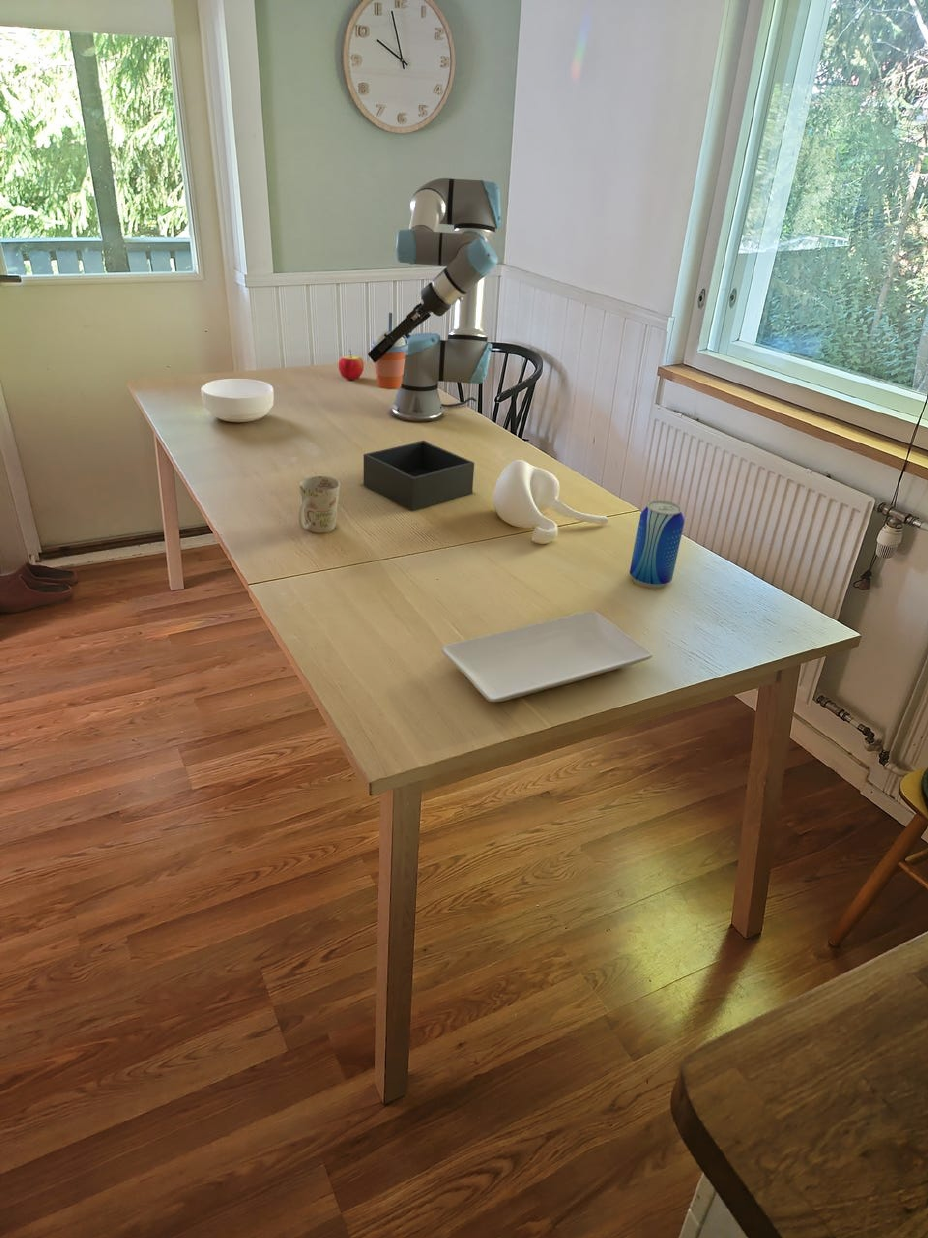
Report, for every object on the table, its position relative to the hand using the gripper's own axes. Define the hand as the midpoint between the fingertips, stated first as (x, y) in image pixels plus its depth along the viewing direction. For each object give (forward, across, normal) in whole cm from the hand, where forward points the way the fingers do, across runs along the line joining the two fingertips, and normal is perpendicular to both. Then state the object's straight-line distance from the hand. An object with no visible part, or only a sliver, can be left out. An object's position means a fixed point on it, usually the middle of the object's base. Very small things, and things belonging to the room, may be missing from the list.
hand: (377, 353), depth 212 cm
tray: (-23, -91, -59) cm, 111 cm away
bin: (+5, -24, -30) cm, 39 cm away
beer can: (-35, -53, -71) cm, 95 cm away
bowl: (+49, +10, +14) cm, 52 cm away
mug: (+15, -54, -21) cm, 60 cm away
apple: (+38, +62, +3) cm, 73 cm away
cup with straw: (+3, 0, -8) cm, 9 cm away
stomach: (-17, -32, -52) cm, 64 cm away
